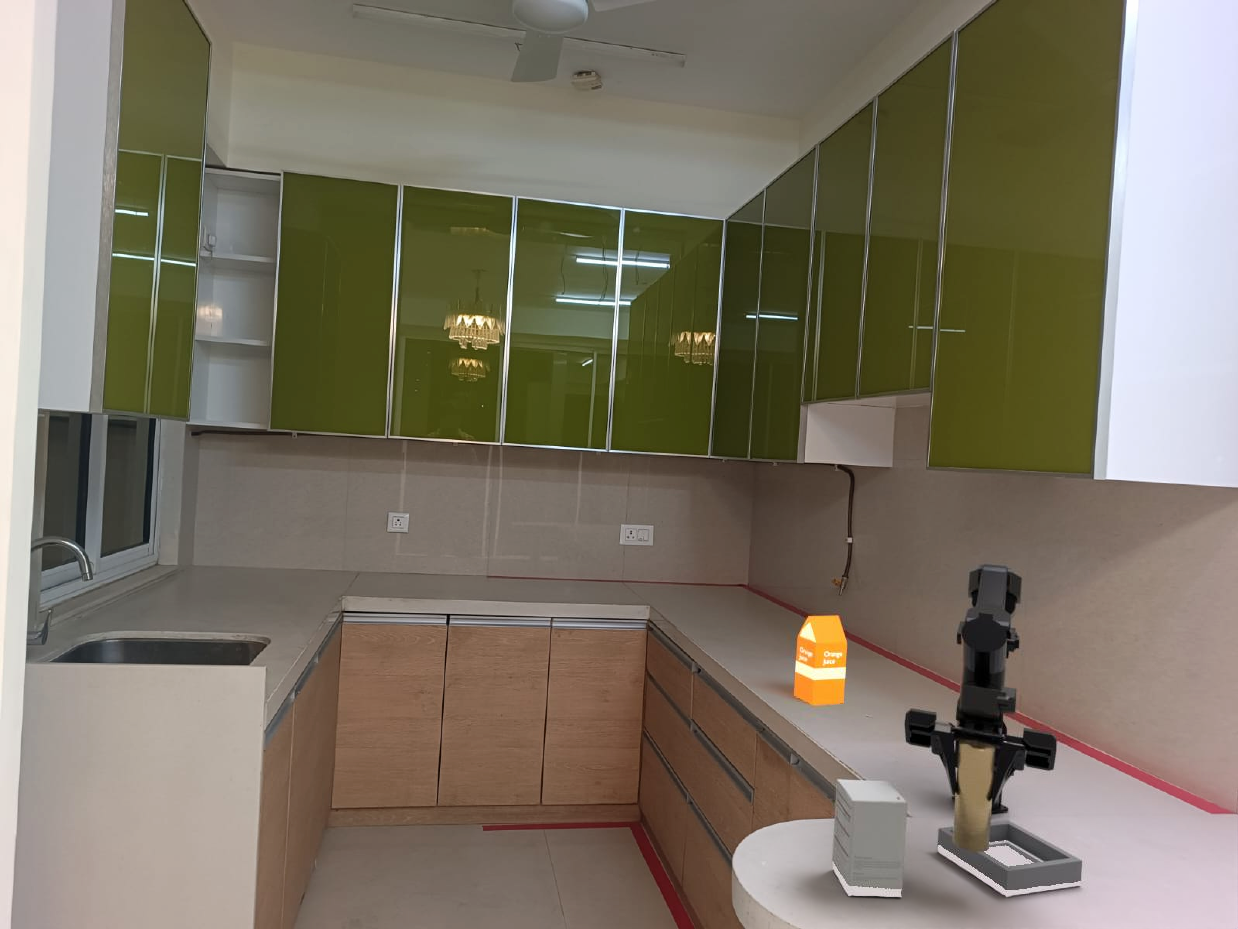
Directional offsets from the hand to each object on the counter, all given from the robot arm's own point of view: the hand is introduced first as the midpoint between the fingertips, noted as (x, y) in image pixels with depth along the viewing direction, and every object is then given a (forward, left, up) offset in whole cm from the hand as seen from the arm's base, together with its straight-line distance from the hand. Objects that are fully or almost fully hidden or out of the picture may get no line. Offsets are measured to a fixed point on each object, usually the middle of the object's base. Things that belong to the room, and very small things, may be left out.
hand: (973, 797), depth 110 cm
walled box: (-12, -5, -13) cm, 19 cm away
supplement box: (+11, -6, -13) cm, 19 cm away
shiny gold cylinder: (-1, -1, -7) cm, 7 cm away
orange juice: (-33, -84, -13) cm, 92 cm away
